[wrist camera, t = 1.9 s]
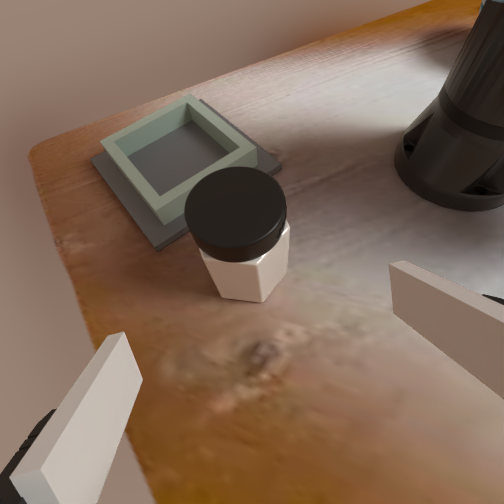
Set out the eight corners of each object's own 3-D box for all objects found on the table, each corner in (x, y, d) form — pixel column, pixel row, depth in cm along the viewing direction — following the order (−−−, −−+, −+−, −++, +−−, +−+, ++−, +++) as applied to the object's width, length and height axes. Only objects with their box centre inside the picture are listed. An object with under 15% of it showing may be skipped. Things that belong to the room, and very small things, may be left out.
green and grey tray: (202, 104, 49) (196, 80, 45) (281, 168, 40) (281, 145, 37) (93, 164, 44) (77, 142, 40) (157, 251, 35) (144, 234, 32)
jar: (297, 289, 32) (307, 228, 21) (227, 317, 31) (200, 268, 20) (266, 226, 36) (261, 150, 25) (203, 249, 35) (171, 180, 24)
